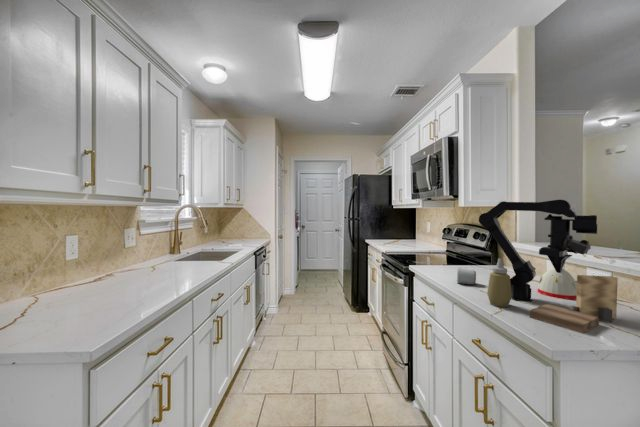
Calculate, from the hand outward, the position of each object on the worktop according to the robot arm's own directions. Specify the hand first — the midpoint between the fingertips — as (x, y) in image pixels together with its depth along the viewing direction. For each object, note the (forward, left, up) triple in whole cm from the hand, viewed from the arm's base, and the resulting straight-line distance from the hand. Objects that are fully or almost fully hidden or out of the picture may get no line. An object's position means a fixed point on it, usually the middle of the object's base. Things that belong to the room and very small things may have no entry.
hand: (558, 272), depth 108 cm
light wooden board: (+5, -10, -13) cm, 17 cm away
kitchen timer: (+10, +17, -13) cm, 24 cm away
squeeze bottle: (-22, -3, -13) cm, 26 cm away
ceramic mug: (-24, +28, -13) cm, 40 cm away
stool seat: (-8, -16, -13) cm, 22 cm away
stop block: (+7, -13, -13) cm, 19 cm away
